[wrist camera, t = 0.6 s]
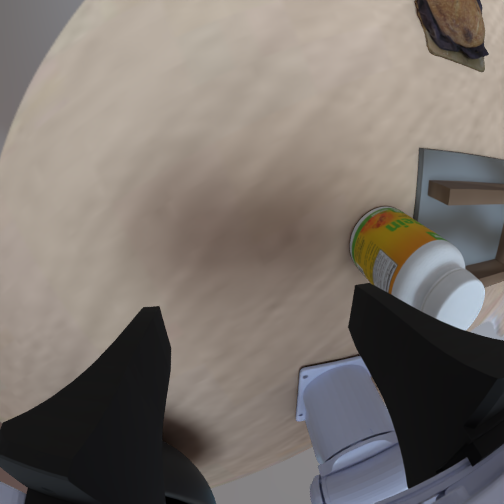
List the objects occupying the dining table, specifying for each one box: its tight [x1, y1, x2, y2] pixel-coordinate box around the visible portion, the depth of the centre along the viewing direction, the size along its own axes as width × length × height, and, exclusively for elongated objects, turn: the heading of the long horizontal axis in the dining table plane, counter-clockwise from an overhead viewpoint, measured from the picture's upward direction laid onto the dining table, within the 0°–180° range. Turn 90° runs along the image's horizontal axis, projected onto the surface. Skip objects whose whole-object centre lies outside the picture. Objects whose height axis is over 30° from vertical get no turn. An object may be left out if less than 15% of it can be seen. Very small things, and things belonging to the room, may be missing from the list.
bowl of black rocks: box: [162, 441, 216, 504], centre depth 20 cm, size 20×20×19 cm
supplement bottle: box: [350, 207, 485, 331], centre depth 16 cm, size 5×5×10 cm
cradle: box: [413, 148, 504, 288], centre depth 20 cm, size 14×14×3 cm
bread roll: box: [415, 0, 489, 72], centre depth 11 cm, size 11×8×4 cm
